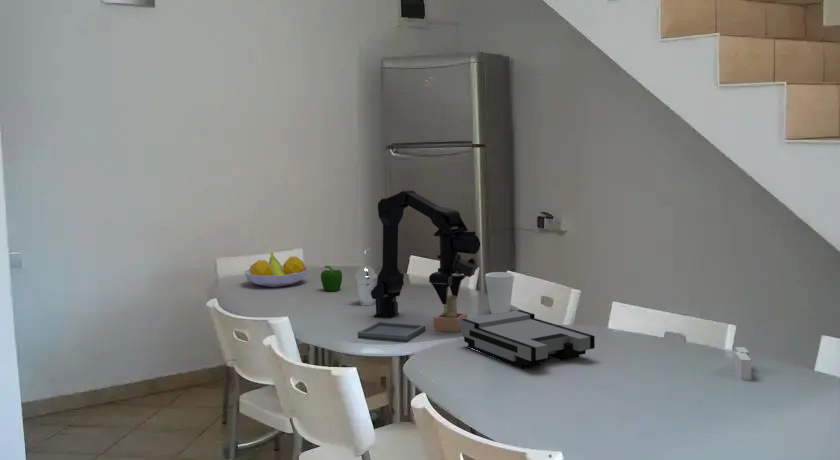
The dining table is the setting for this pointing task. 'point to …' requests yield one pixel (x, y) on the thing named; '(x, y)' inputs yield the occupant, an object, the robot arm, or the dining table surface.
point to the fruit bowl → (276, 272)
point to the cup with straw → (365, 282)
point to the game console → (523, 338)
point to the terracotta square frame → (448, 322)
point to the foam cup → (499, 291)
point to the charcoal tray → (391, 331)
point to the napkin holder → (742, 363)
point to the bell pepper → (331, 279)
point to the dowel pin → (450, 307)
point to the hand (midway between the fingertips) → (449, 301)
